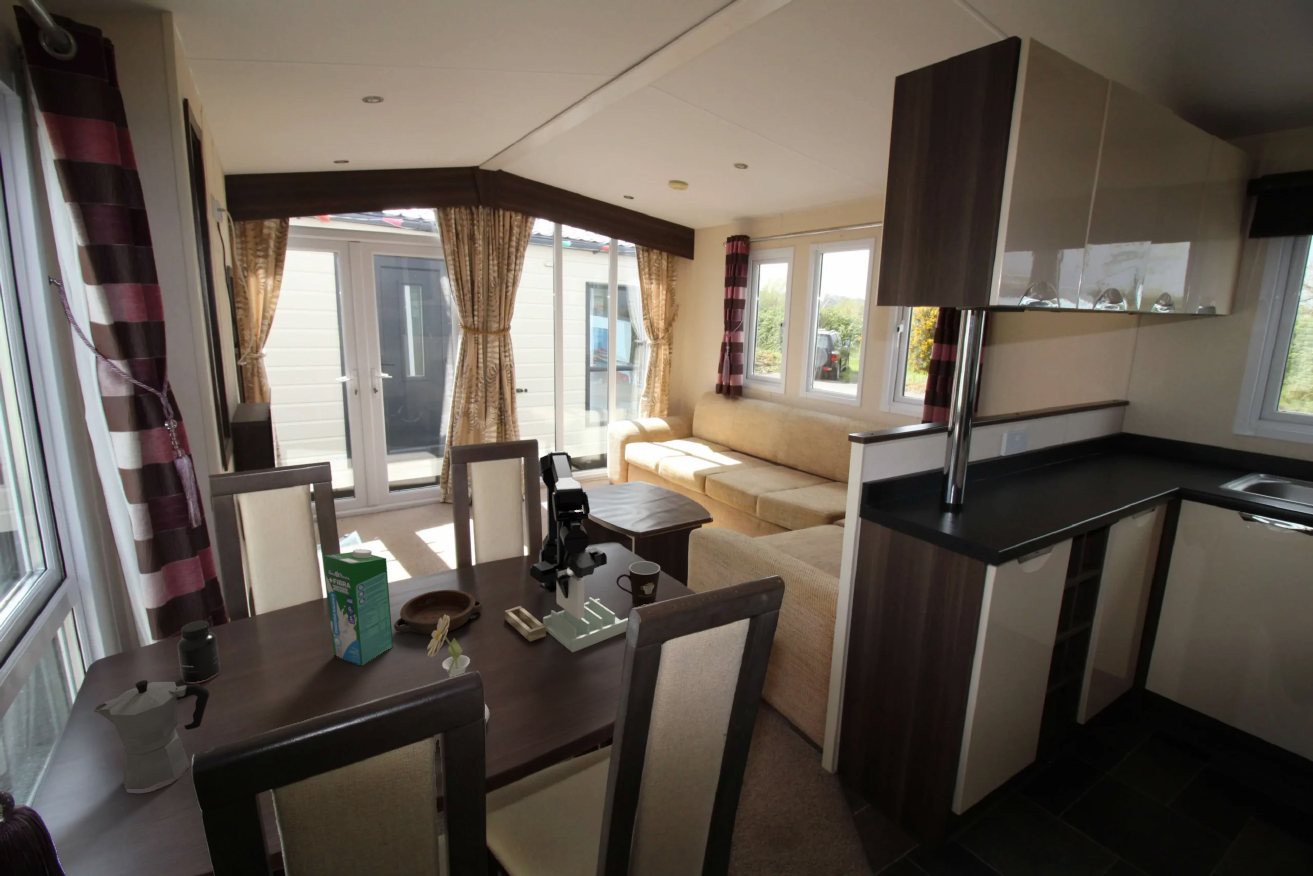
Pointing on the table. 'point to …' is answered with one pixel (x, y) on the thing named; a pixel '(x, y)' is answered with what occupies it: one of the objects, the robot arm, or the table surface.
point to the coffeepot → (152, 730)
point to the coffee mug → (642, 582)
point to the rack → (584, 626)
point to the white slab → (572, 596)
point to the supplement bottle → (198, 652)
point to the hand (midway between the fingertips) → (569, 596)
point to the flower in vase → (450, 652)
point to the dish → (436, 611)
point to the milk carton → (358, 605)
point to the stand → (530, 634)
